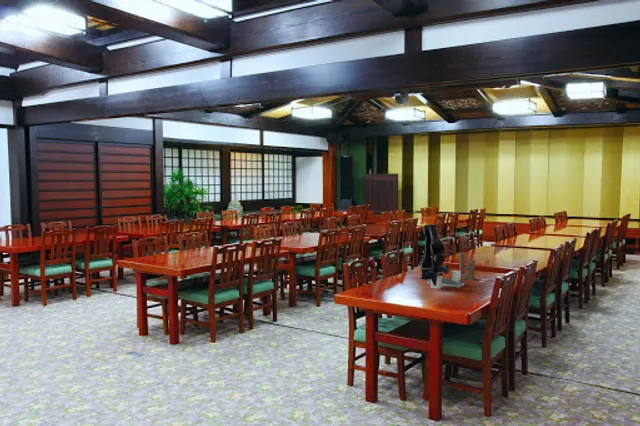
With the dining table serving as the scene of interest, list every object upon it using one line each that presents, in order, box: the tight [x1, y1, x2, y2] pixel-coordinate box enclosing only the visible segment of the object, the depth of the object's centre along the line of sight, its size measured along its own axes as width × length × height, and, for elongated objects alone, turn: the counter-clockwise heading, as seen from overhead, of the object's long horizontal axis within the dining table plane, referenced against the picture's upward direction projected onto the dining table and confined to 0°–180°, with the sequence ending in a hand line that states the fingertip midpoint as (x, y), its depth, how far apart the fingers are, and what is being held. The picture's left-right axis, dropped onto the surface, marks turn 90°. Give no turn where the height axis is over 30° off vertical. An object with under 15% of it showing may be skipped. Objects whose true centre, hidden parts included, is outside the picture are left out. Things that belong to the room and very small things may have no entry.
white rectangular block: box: [430, 275, 443, 290], centre depth 340 cm, size 6×4×8 cm
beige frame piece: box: [458, 252, 476, 281], centre depth 369 cm, size 4×11×18 cm, turn 53°
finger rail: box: [426, 270, 465, 288], centre depth 351 cm, size 22×10×10 cm, turn 55°
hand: (436, 285), depth 340 cm, fingers closed on white rectangular block, 4 cm apart
